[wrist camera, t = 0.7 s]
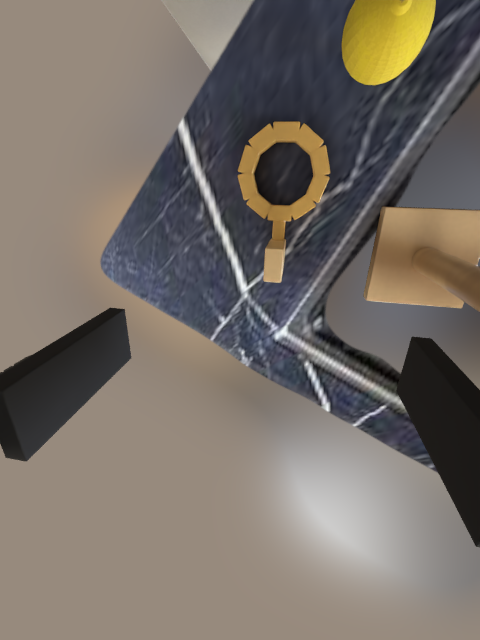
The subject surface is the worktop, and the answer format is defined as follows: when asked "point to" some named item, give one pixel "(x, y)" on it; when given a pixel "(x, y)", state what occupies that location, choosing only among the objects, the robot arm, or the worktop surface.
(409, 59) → the lemon
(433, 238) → the peg stand
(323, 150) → the hang ring
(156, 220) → the worktop surface
